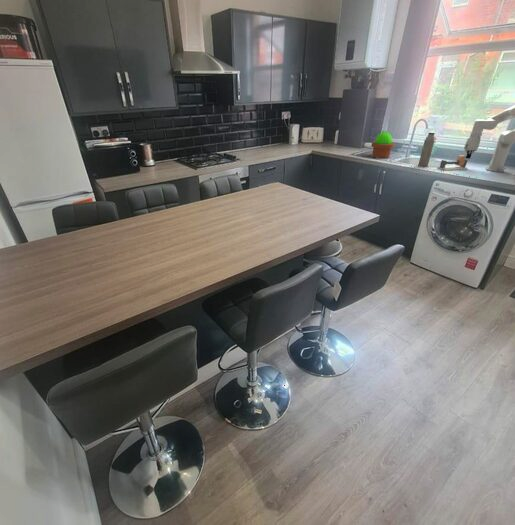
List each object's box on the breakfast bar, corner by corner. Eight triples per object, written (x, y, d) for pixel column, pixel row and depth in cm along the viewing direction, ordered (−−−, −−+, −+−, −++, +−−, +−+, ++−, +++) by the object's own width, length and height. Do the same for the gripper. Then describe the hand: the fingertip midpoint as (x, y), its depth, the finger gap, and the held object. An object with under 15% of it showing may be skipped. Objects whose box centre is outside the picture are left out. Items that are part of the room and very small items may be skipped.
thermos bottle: (416, 164, 273) (424, 132, 259) (424, 164, 273) (433, 132, 259) (420, 166, 266) (429, 133, 252) (429, 166, 267) (438, 133, 252)
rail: (467, 169, 255) (470, 160, 252) (444, 170, 253) (447, 161, 249) (458, 166, 264) (461, 158, 260) (436, 168, 261) (439, 159, 258)
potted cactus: (389, 159, 296) (395, 132, 283) (367, 157, 306) (371, 131, 293) (393, 155, 312) (398, 130, 299) (372, 154, 322) (376, 129, 309)
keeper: (463, 165, 256) (466, 156, 252) (459, 166, 255) (462, 156, 251) (459, 164, 260) (462, 155, 256) (454, 164, 260) (458, 155, 256)
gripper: (479, 135, 251) (472, 157, 260) (464, 135, 249) (456, 157, 258) (487, 136, 244) (478, 158, 253) (471, 136, 242) (463, 159, 252)
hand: (467, 158), depth 256 cm, fingers closed
